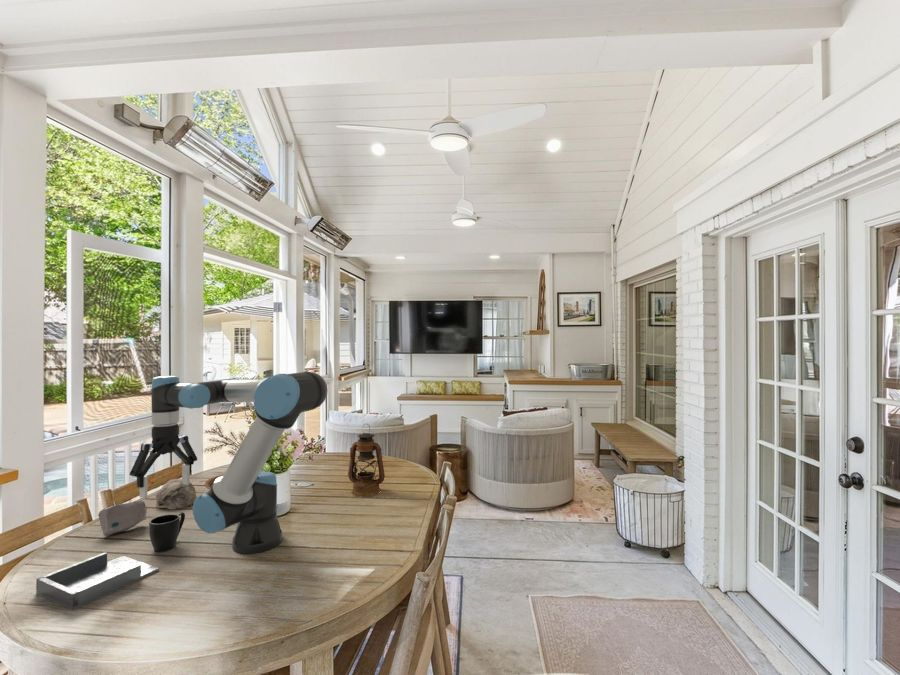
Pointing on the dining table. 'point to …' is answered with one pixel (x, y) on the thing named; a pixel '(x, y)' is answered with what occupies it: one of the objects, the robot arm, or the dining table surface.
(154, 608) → the dining table surface
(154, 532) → the black rounded cylinder
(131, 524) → the mauve grey rounded block
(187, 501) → the rock
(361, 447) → the lantern
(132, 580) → the grey rectangular tray
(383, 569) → the dining table surface
